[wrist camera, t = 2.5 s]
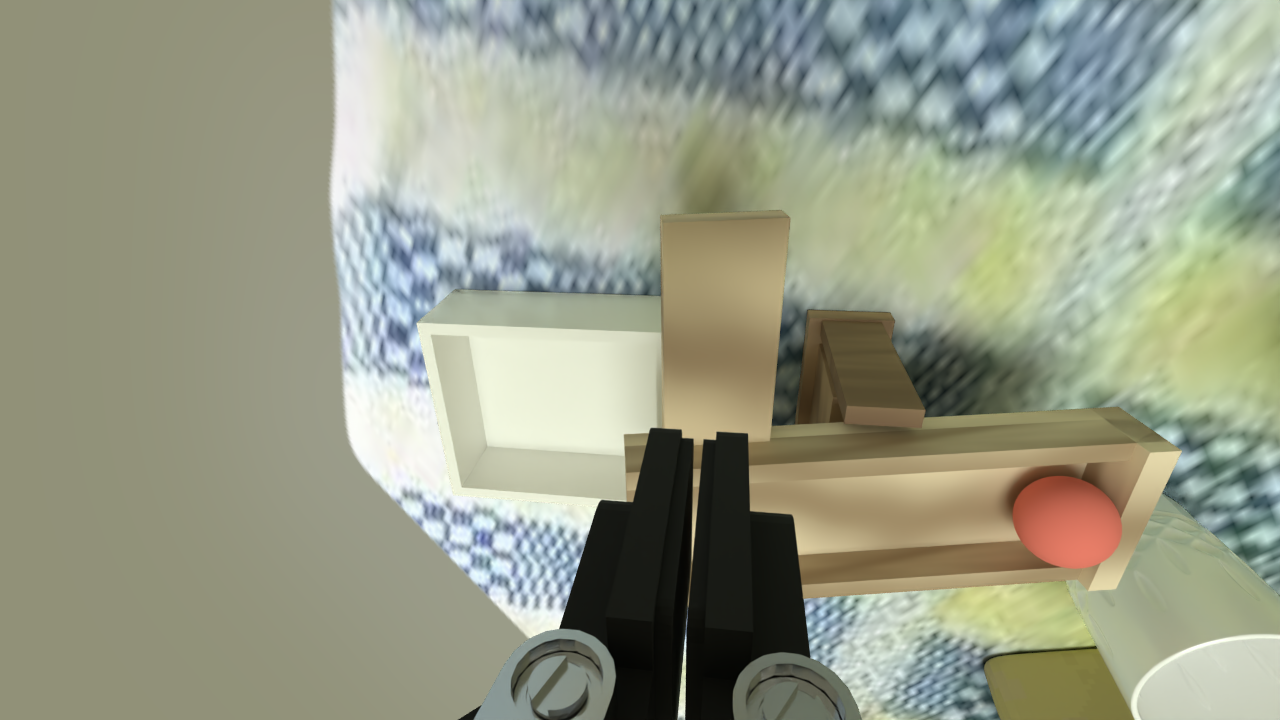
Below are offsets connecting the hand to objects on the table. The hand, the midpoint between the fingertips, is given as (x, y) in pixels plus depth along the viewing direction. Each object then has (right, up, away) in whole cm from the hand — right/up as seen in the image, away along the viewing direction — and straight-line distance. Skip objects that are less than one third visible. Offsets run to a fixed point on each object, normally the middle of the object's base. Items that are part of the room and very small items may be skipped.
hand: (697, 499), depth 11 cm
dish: (-5, +1, +24) cm, 25 cm away
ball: (+16, -4, +13) cm, 21 cm away
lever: (+8, +1, +14) cm, 16 cm away
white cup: (+26, -7, +24) cm, 36 cm away
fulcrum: (+10, +1, +22) cm, 24 cm away
